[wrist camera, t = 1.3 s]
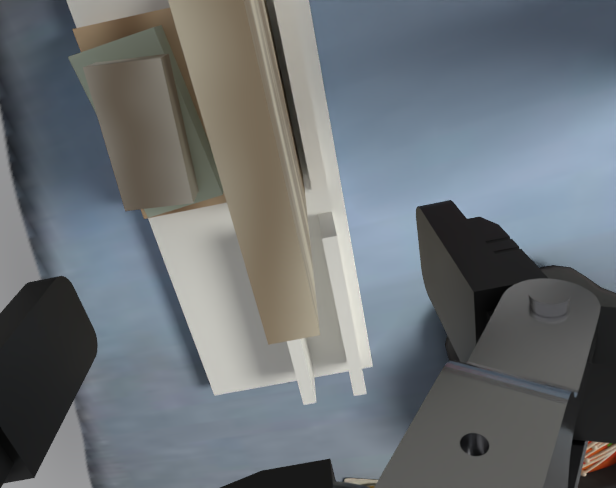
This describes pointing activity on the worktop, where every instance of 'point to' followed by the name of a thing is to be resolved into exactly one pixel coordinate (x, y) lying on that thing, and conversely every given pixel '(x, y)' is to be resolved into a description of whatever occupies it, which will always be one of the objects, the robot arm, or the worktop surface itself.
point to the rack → (226, 251)
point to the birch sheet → (254, 154)
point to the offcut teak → (137, 23)
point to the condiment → (362, 482)
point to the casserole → (599, 456)
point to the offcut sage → (199, 145)
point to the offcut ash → (143, 130)
